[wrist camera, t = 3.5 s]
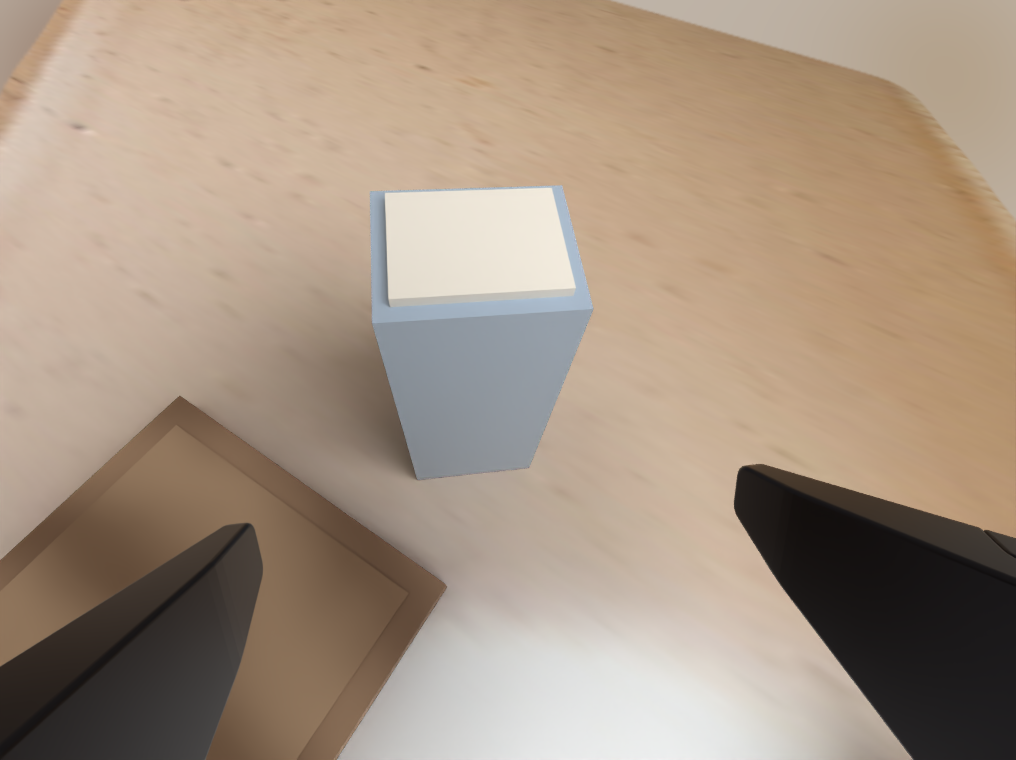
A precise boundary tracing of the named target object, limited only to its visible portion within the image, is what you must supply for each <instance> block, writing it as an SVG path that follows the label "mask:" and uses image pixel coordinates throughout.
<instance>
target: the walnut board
mask: <svg viewBox="0 0 1016 760" xmlns="http://www.w3.org/2000/svg"><path fill="white" fill-rule="evenodd" d="M237 523H251V524H252V525H253V527H254V528H255V531H256V536H257V540H258V544H259V548H260V553H261V557H262V562H263V576H262V580H261V584H260V588H259V592H258V597H257V601H256V605H255V609H254V613H253V617H252V621H251V625H250V629H249V633H248V637H247V641H246V645H245V649H244V653H243V656H242V660H241V663H240V666H239V669H238V672H237V675H236V678H235V681H234V683H233V686H232V689H231V692H230V694H229V697H228V700H227V702H226V705H225V708H224V711H223V713H222V716H221V719H220V721H219V724H218V727H217V730H216V732H215V735H214V738H213V740H212V743H211V746H210V749H209V751H208V754H207V757H206V760H336V759H337V758H338V756H339V755H340V753H341V752H342V750H343V749H344V747H345V745H346V744H347V742H348V741H349V739H350V738H351V736H352V735H353V733H354V731H355V730H356V728H357V727H358V725H359V724H360V722H361V721H362V719H363V717H364V716H365V714H366V713H367V711H368V710H369V708H370V706H371V705H372V703H373V702H374V700H375V699H376V697H377V696H378V694H379V692H380V691H381V689H382V688H383V686H384V685H385V683H386V682H387V680H388V678H389V677H390V675H391V674H392V672H393V671H394V669H395V668H396V666H397V664H398V663H399V661H400V660H401V658H402V657H403V655H404V654H405V652H406V650H407V649H408V647H409V646H410V644H411V643H412V641H413V639H414V638H415V636H416V635H417V633H418V632H419V630H420V629H421V627H422V625H423V624H424V622H425V621H426V619H427V618H428V616H429V615H430V613H431V611H432V610H433V608H434V607H435V605H436V604H437V602H438V601H439V599H440V597H441V596H442V594H443V593H444V591H445V590H446V588H447V586H446V584H445V583H443V582H442V581H440V580H439V579H437V578H436V577H435V576H433V575H432V574H430V573H429V572H428V571H426V570H425V569H423V568H422V567H421V566H419V565H418V564H416V563H415V562H414V561H412V560H411V559H409V558H408V557H406V556H405V555H404V554H402V553H401V552H399V551H398V550H397V549H395V548H394V547H392V546H391V545H390V544H388V543H387V542H385V541H384V540H382V539H381V538H380V537H378V536H377V535H375V534H374V533H373V532H371V531H370V530H368V529H367V528H366V527H364V526H363V525H361V524H360V523H359V522H357V521H356V520H354V519H353V518H351V517H350V516H349V515H347V514H346V513H344V512H343V511H342V510H340V509H339V508H337V507H336V506H335V505H333V504H332V503H330V502H329V501H328V500H326V499H325V498H323V497H322V496H320V495H319V494H318V493H316V492H315V491H313V490H312V489H311V488H309V487H308V486H306V485H305V484H304V483H302V482H301V481H299V480H298V479H296V478H295V477H294V476H292V475H291V474H289V473H288V472H287V471H285V470H284V469H282V468H281V467H280V466H278V465H277V464H275V463H274V462H273V461H271V460H270V459H268V458H267V457H265V456H264V455H263V454H261V453H260V452H258V451H257V450H256V449H254V448H253V447H251V446H250V445H249V444H247V443H246V442H244V441H243V440H242V439H240V438H239V437H237V436H236V435H234V434H233V433H232V432H230V431H229V430H227V429H226V428H225V427H223V426H222V425H220V424H219V423H218V422H216V421H215V420H213V419H212V418H210V417H209V416H208V415H206V414H205V413H203V412H202V411H201V410H199V409H198V408H196V407H195V406H194V405H192V404H191V403H189V402H188V401H187V400H185V399H184V398H182V397H181V396H179V397H178V398H177V399H176V400H175V401H173V402H172V403H171V404H170V405H169V406H168V407H167V408H166V409H165V410H164V411H163V412H161V413H160V414H159V415H158V416H157V417H156V418H155V419H154V420H153V421H152V422H151V423H149V424H148V425H147V426H146V427H145V428H144V429H143V430H142V431H141V432H140V433H139V434H137V435H136V436H135V437H134V438H133V439H132V440H131V441H130V442H129V443H128V444H127V445H126V446H124V447H123V448H122V449H121V450H120V451H119V452H118V453H117V454H116V455H115V456H114V457H112V458H111V459H110V460H109V461H108V462H107V463H106V464H105V465H104V466H103V467H102V468H100V469H99V470H98V471H97V472H96V473H95V474H94V475H93V476H92V477H91V478H90V479H88V480H87V481H86V482H85V483H84V484H83V485H82V486H81V487H80V488H79V489H78V490H76V491H75V492H74V493H73V494H72V495H71V496H70V497H69V498H68V499H67V500H66V501H65V502H63V503H62V504H61V505H60V506H59V507H58V508H57V509H56V510H55V511H54V512H53V513H51V514H50V515H49V516H48V517H47V518H46V519H45V520H44V521H43V522H42V523H41V524H39V525H38V526H37V527H36V528H35V529H34V530H33V531H32V532H31V533H30V534H29V535H27V536H26V537H25V538H24V539H23V540H22V541H21V542H20V543H19V544H18V545H17V546H15V547H14V548H13V549H12V550H11V551H10V552H9V553H8V554H7V555H6V556H5V557H4V558H2V559H1V560H0V666H1V665H3V664H5V663H6V662H8V661H9V660H11V659H13V658H14V657H16V656H17V655H19V654H20V653H22V652H24V651H25V650H27V649H28V648H30V647H32V646H33V645H35V644H36V643H38V642H40V641H41V640H43V639H44V638H46V637H48V636H49V635H51V634H52V633H54V632H56V631H57V630H59V629H60V628H62V627H63V626H65V625H67V624H68V623H70V622H71V621H73V620H75V619H76V618H78V617H79V616H81V615H83V614H84V613H86V612H87V611H89V610H91V609H92V608H94V607H95V606H97V605H99V604H100V603H102V602H103V601H105V600H106V599H108V598H110V597H111V596H113V595H114V594H116V593H118V592H119V591H121V590H122V589H124V588H126V587H127V586H129V585H130V584H132V583H134V582H135V581H137V580H138V579H140V578H142V577H143V576H145V575H146V574H148V573H149V572H151V571H153V570H154V569H156V568H157V567H159V566H161V565H162V564H164V563H165V562H167V561H169V560H170V559H172V558H173V557H175V556H177V555H178V554H180V553H181V552H183V551H185V550H186V549H188V548H189V547H191V546H192V545H194V544H196V543H197V542H199V541H200V540H202V539H204V538H205V537H207V536H208V535H210V534H212V533H213V532H215V531H216V530H218V529H220V528H221V527H223V526H225V525H228V524H237Z"/></svg>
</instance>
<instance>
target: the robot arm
mask: <svg viewBox="0 0 1016 760" xmlns="http://www.w3.org/2000/svg"><path fill="white" fill-rule="evenodd" d="M734 509H735V512H736V515H737V517H738V519H739V520H740V522H741V523H742V525H743V527H744V528H745V530H746V531H747V533H748V535H749V536H750V538H751V540H752V541H753V543H754V544H755V546H756V548H757V549H758V551H759V552H760V554H761V556H762V557H763V559H764V560H765V562H766V564H767V565H768V567H769V569H770V570H771V572H772V573H773V575H774V576H775V578H776V579H777V581H778V582H779V584H780V585H781V586H782V588H783V589H784V591H785V592H786V593H787V595H788V596H789V597H790V599H791V600H792V601H793V603H794V604H795V605H796V606H797V608H798V609H799V610H800V612H801V613H802V614H803V616H804V617H805V618H806V620H807V621H808V622H809V624H810V625H811V626H812V627H813V629H814V630H815V631H816V633H817V634H818V635H819V637H820V638H821V639H822V641H823V642H824V643H825V645H826V646H827V647H828V648H829V650H830V651H831V652H832V654H833V655H834V656H835V658H836V659H837V660H838V662H839V663H840V664H841V666H842V667H843V668H844V670H845V671H846V672H847V673H848V675H849V676H850V677H851V679H852V680H853V681H854V683H855V684H856V685H857V687H858V688H859V689H860V691H861V692H862V693H863V694H864V696H865V697H866V698H867V700H868V701H869V702H870V704H871V705H872V706H873V708H874V709H875V710H876V712H877V713H878V714H879V715H880V717H881V718H882V719H883V721H884V722H885V723H886V725H887V726H888V727H889V729H890V730H891V731H892V733H893V734H894V735H895V736H896V738H897V739H898V740H899V742H900V743H901V744H902V746H903V747H904V748H905V750H906V751H907V752H908V754H909V755H910V756H911V757H912V759H913V760H1016V538H1013V537H1010V536H1006V535H1003V534H999V533H996V532H993V531H989V530H984V531H983V530H982V529H981V528H979V527H975V526H972V525H968V524H965V523H962V522H958V521H955V520H951V519H948V518H945V517H941V516H938V515H934V514H931V513H928V512H924V511H921V510H917V509H914V508H911V507H907V506H904V505H900V504H897V503H894V502H890V501H887V500H883V499H880V498H877V497H873V496H870V495H866V494H863V493H859V492H856V491H853V490H849V489H846V488H842V487H839V486H836V485H832V484H829V483H825V482H822V481H819V480H815V479H812V478H808V477H805V476H802V475H798V474H795V473H791V472H788V471H785V470H781V469H778V468H774V467H771V466H767V465H764V464H755V465H746V466H742V467H741V468H740V469H739V471H738V475H737V482H736V490H735V498H734ZM262 576H263V562H262V557H261V553H260V548H259V544H258V540H257V536H256V531H255V528H254V527H253V525H252V524H251V523H237V524H228V525H225V526H223V527H221V528H220V529H218V530H216V531H215V532H213V533H212V534H210V535H208V536H207V537H205V538H204V539H202V540H200V541H199V542H197V543H196V544H194V545H192V546H191V547H189V548H188V549H186V550H185V551H183V552H181V553H180V554H178V555H177V556H175V557H173V558H172V559H170V560H169V561H167V562H165V563H164V564H162V565H161V566H159V567H157V568H156V569H154V570H153V571H151V572H149V573H148V574H146V575H145V576H143V577H142V578H140V579H138V580H137V581H135V582H134V583H132V584H130V585H129V586H127V587H126V588H124V589H122V590H121V591H119V592H118V593H116V594H114V595H113V596H111V597H110V598H108V599H106V600H105V601H103V602H102V603H100V604H99V605H97V606H95V607H94V608H92V609H91V610H89V611H87V612H86V613H84V614H83V615H81V616H79V617H78V618H76V619H75V620H73V621H71V622H70V623H68V624H67V625H65V626H63V627H62V628H60V629H59V630H57V631H56V632H54V633H52V634H51V635H49V636H48V637H46V638H44V639H43V640H41V641H40V642H38V643H36V644H35V645H33V646H32V647H30V648H28V649H27V650H25V651H24V652H22V653H20V654H19V655H17V656H16V657H14V658H13V659H11V660H9V661H8V662H6V663H5V664H3V665H1V666H0V760H206V757H207V754H208V751H209V749H210V746H211V743H212V740H213V738H214V735H215V732H216V730H217V727H218V724H219V721H220V719H221V716H222V713H223V711H224V708H225V705H226V702H227V700H228V697H229V694H230V692H231V689H232V686H233V683H234V681H235V678H236V675H237V672H238V669H239V666H240V663H241V660H242V656H243V653H244V649H245V645H246V641H247V637H248V633H249V629H250V625H251V621H252V617H253V613H254V609H255V605H256V601H257V597H258V592H259V588H260V584H261V580H262Z"/></svg>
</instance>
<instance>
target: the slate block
mask: <svg viewBox="0 0 1016 760" xmlns="http://www.w3.org/2000/svg"><path fill="white" fill-rule="evenodd" d="M370 225H371V288H372V325H373V329H374V332H375V335H376V339H377V342H378V346H379V349H380V353H381V356H382V360H383V363H384V367H385V370H386V373H387V377H388V380H389V384H390V387H391V391H392V394H393V398H394V401H395V405H396V408H397V412H398V415H399V418H400V422H401V425H402V429H403V432H404V436H405V439H406V443H407V446H408V450H409V453H410V456H411V460H412V463H413V467H414V470H415V474H416V477H417V480H422V479H431V478H440V477H450V476H459V475H468V474H477V473H487V472H496V471H505V470H514V469H523V468H529V467H530V464H531V462H532V459H533V457H534V454H535V452H536V449H537V447H538V444H539V442H540V439H541V437H542V435H543V432H544V430H545V427H546V425H547V422H548V420H549V417H550V415H551V412H552V410H553V407H554V405H555V403H556V400H557V398H558V395H559V393H560V390H561V388H562V385H563V383H564V380H565V378H566V375H567V373H568V371H569V368H570V366H571V363H572V361H573V358H574V356H575V353H576V351H577V348H578V346H579V343H580V341H581V339H582V336H583V334H584V331H585V329H586V326H587V324H588V321H589V319H590V316H591V314H592V311H593V305H592V301H591V297H590V293H589V290H588V286H587V282H586V278H585V274H584V270H583V266H582V262H581V258H580V254H579V250H578V246H577V242H576V239H575V235H574V231H573V227H572V223H571V219H570V215H569V211H568V207H567V203H566V199H565V195H564V192H563V188H562V186H530V187H497V188H465V189H432V190H399V191H370Z"/></svg>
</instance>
